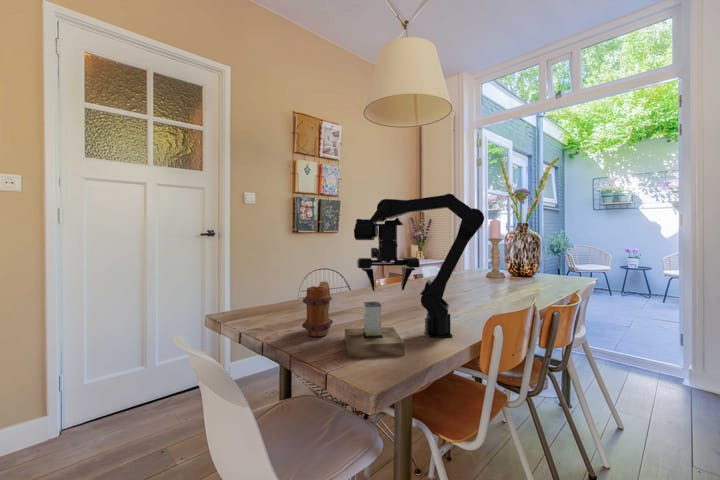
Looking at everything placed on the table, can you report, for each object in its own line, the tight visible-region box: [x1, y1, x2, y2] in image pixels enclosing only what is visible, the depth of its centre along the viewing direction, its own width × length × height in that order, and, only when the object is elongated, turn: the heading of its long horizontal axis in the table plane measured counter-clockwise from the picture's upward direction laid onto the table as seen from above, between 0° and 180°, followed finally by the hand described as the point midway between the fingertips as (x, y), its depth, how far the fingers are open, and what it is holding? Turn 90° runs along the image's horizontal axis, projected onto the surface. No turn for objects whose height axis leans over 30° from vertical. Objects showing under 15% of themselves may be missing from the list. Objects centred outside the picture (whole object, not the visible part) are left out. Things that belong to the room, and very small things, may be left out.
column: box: [363, 301, 382, 336], centre depth 87 cm, size 4×4×8 cm
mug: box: [301, 281, 334, 338], centre depth 100 cm, size 15×8×15 cm, turn 168°
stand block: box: [344, 326, 406, 358], centre depth 87 cm, size 14×14×4 cm
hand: (388, 290), depth 101 cm, fingers open, 9 cm apart
